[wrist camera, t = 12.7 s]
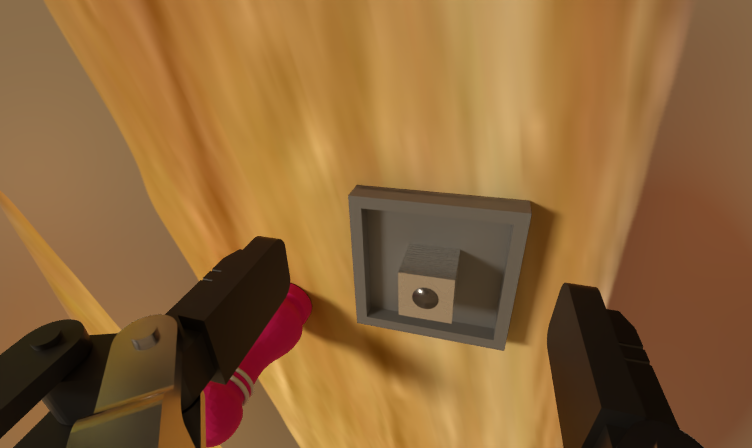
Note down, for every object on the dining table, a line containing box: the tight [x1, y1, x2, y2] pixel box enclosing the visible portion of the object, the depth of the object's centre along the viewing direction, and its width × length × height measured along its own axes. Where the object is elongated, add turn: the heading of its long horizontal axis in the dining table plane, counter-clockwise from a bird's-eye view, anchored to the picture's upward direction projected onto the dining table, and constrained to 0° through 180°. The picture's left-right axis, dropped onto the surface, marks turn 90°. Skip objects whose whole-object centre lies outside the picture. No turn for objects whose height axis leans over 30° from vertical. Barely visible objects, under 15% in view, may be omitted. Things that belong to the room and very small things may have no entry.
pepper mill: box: [203, 283, 312, 447], centre depth 39 cm, size 7×7×20 cm
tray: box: [348, 185, 532, 351], centre depth 38 cm, size 16×16×2 cm
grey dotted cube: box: [398, 243, 460, 324], centre depth 36 cm, size 5×5×5 cm
